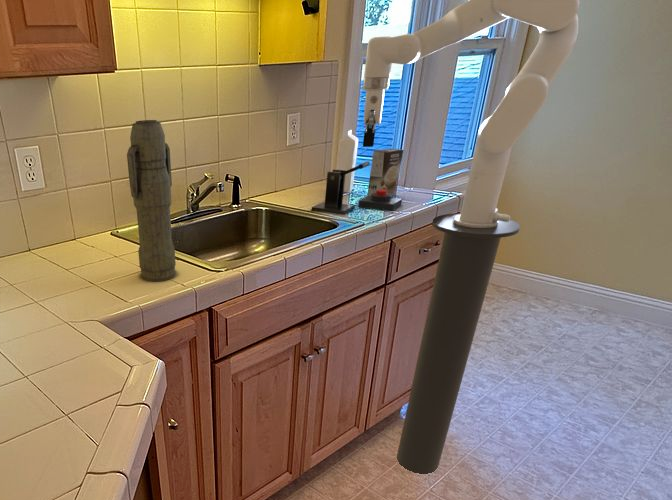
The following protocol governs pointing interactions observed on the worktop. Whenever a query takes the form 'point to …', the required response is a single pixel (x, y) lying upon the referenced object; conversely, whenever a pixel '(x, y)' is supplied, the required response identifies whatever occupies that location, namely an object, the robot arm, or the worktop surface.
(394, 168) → the coffee box
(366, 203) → the control block
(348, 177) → the milk
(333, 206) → the black lever stand
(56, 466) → the worktop surface
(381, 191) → the setting button
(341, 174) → the lever
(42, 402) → the worktop surface
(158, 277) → the grey stone statue
